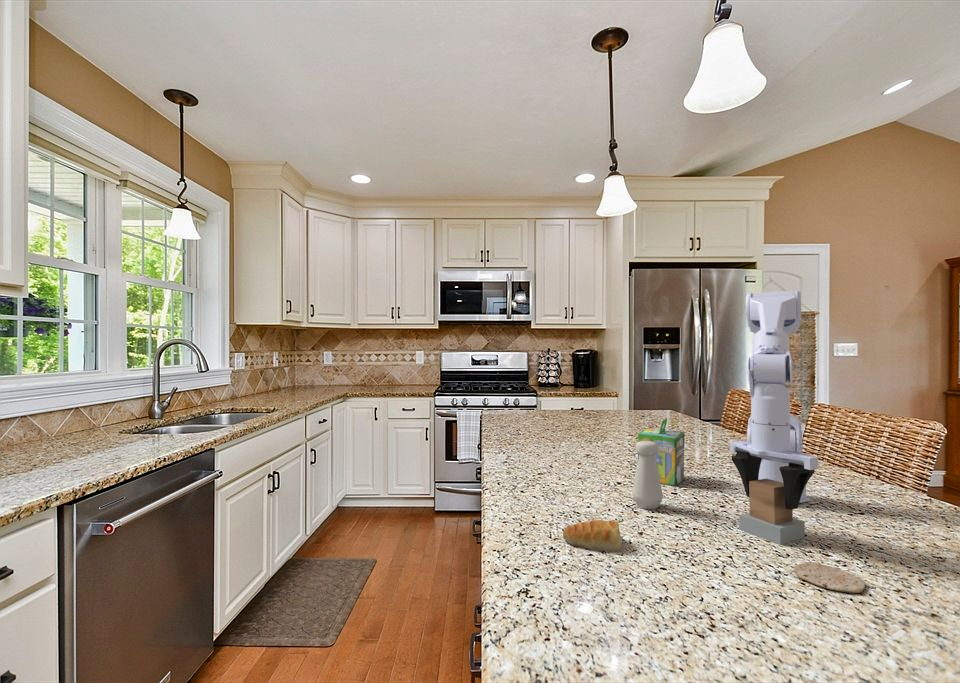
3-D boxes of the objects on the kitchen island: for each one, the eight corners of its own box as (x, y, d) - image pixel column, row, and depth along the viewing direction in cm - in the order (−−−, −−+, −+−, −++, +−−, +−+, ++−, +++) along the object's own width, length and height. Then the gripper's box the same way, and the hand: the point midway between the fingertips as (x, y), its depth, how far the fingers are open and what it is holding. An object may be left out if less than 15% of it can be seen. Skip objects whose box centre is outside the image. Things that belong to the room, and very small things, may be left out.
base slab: (763, 525, 85) (763, 508, 85) (804, 539, 78) (804, 521, 79) (739, 532, 81) (739, 515, 82) (780, 547, 75) (780, 528, 75)
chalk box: (647, 472, 120) (647, 414, 120) (685, 478, 114) (685, 417, 114) (636, 480, 112) (636, 419, 112) (676, 487, 107) (676, 422, 107)
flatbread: (782, 573, 66) (782, 566, 66) (813, 563, 69) (813, 556, 69) (847, 601, 59) (847, 593, 59) (879, 589, 62) (879, 581, 62)
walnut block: (767, 512, 83) (766, 478, 83) (792, 520, 79) (791, 484, 79) (749, 515, 81) (748, 481, 81) (774, 524, 77) (773, 488, 77)
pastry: (563, 550, 74) (563, 526, 74) (561, 534, 80) (561, 511, 80) (624, 553, 72) (624, 529, 73) (617, 536, 79) (617, 514, 79)
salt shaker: (665, 512, 90) (664, 445, 91) (634, 510, 91) (634, 444, 92) (659, 502, 96) (659, 439, 96) (630, 500, 97) (630, 438, 97)
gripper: (717, 418, 85) (718, 492, 85) (797, 431, 72) (798, 519, 72) (744, 416, 88) (745, 488, 88) (826, 428, 75) (827, 513, 75)
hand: (771, 501), depth 80 cm, fingers open, 7 cm apart
